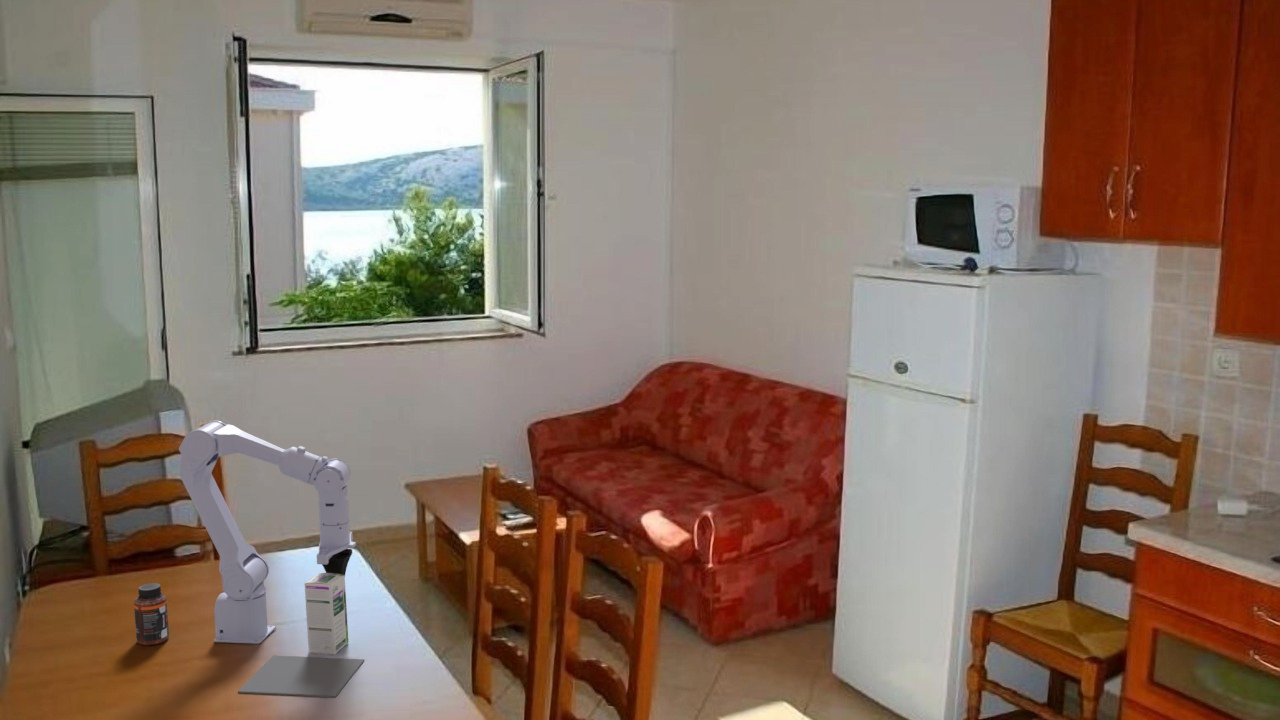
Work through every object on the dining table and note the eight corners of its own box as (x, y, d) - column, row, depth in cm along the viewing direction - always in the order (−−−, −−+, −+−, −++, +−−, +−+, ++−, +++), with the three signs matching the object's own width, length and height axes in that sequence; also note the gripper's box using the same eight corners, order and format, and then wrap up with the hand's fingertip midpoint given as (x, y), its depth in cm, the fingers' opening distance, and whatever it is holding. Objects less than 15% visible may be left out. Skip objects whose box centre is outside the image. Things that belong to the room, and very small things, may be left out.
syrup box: (335, 655, 206) (332, 584, 204) (307, 652, 208) (304, 581, 205) (348, 643, 212) (346, 573, 210) (321, 640, 213) (318, 571, 211)
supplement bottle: (174, 640, 213) (171, 586, 211) (144, 649, 209) (140, 594, 207) (161, 631, 217) (158, 578, 215) (131, 640, 213) (127, 586, 211)
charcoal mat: (237, 692, 191) (237, 691, 191) (273, 656, 206) (273, 655, 206) (335, 697, 189) (335, 695, 189) (364, 660, 204) (364, 659, 204)
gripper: (340, 533, 204) (343, 601, 206) (366, 511, 219) (368, 574, 221) (305, 532, 205) (308, 599, 207) (332, 510, 219) (335, 573, 221)
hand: (336, 586), depth 214 cm, fingers closed
